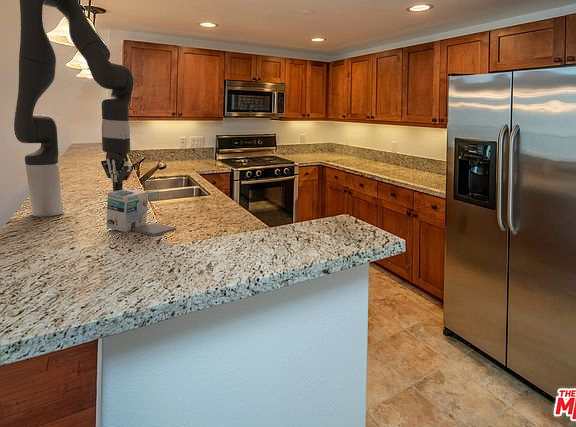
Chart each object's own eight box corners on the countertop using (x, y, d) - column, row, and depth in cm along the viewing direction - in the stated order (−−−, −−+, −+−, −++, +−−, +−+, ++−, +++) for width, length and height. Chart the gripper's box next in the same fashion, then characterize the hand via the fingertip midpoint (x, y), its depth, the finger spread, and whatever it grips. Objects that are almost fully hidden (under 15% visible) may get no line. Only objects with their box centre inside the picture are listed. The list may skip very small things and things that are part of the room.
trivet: (131, 230, 108) (131, 228, 108) (154, 225, 115) (154, 222, 114) (153, 236, 103) (153, 233, 103) (176, 230, 109) (176, 227, 109)
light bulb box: (125, 233, 106) (127, 197, 103) (105, 228, 107) (106, 192, 104) (147, 224, 116) (149, 191, 113) (128, 219, 117) (130, 187, 115)
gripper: (90, 133, 108) (93, 191, 112) (118, 138, 101) (120, 199, 105) (114, 133, 114) (116, 188, 118) (141, 138, 107) (142, 195, 112)
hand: (117, 193), depth 112 cm, fingers closed
